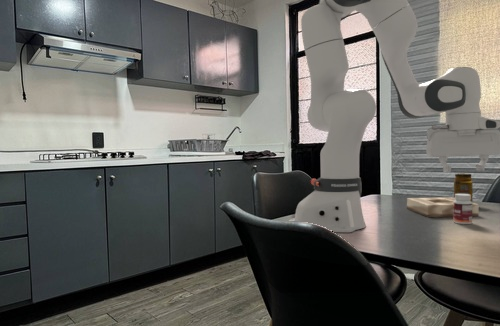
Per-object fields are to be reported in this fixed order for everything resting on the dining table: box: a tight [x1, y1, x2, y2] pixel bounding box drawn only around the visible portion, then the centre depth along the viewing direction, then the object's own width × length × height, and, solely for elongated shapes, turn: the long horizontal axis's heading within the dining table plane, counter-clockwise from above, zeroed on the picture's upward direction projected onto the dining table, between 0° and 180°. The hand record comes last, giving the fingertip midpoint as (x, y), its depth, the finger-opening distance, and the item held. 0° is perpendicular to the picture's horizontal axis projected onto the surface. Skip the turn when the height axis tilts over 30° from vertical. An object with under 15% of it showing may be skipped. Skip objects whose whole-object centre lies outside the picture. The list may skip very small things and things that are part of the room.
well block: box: [406, 196, 480, 218], centre depth 119 cm, size 16×16×4 cm
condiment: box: [453, 173, 474, 203], centre depth 131 cm, size 7×8×12 cm
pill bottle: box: [452, 194, 473, 225], centre depth 102 cm, size 5×5×8 cm
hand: (463, 171), depth 102 cm, fingers open, 8 cm apart
